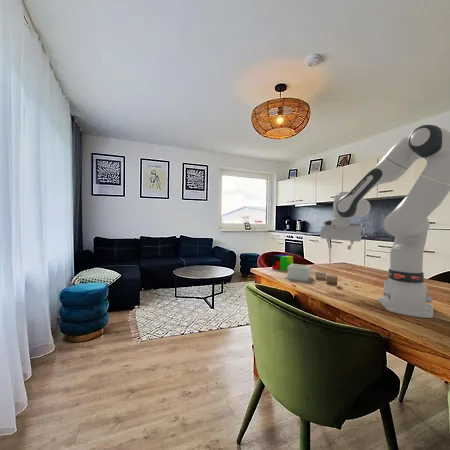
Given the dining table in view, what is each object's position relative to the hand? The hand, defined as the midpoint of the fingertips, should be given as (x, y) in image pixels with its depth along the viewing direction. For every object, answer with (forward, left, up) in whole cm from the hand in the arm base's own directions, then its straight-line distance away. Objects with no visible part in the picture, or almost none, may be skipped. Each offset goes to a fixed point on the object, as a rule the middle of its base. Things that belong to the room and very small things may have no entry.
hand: (339, 248), depth 135 cm
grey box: (+1, +21, -19) cm, 28 cm away
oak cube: (+7, +10, -20) cm, 23 cm away
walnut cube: (-2, +3, -20) cm, 20 cm away
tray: (+1, +21, -20) cm, 29 cm away
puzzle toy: (+24, +38, -20) cm, 49 cm away
